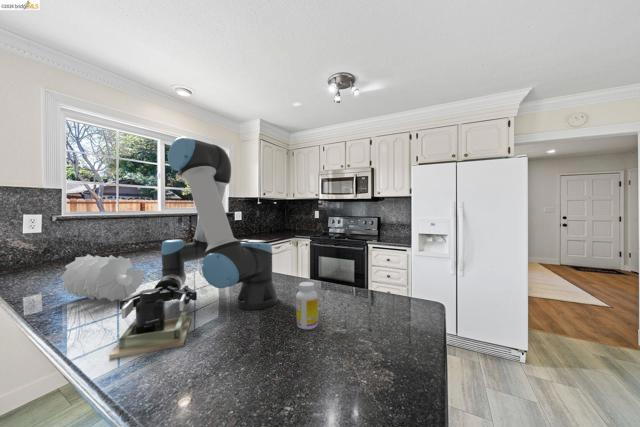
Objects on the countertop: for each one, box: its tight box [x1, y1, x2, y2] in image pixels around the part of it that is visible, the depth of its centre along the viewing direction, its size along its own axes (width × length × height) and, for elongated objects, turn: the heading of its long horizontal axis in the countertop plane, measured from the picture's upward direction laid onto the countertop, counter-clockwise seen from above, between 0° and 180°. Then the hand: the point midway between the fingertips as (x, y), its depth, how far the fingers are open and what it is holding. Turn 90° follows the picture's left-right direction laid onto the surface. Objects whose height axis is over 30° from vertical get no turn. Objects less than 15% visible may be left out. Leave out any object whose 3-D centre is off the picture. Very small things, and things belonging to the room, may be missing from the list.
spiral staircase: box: [60, 253, 146, 302], centre depth 105 cm, size 18×18×25 cm
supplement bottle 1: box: [135, 288, 166, 335], centre depth 73 cm, size 7×7×12 cm
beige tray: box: [108, 309, 192, 360], centre depth 73 cm, size 18×16×4 cm
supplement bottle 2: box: [295, 281, 319, 330], centre depth 79 cm, size 7×7×13 cm
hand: (153, 309), depth 70 cm, fingers open, 13 cm apart
